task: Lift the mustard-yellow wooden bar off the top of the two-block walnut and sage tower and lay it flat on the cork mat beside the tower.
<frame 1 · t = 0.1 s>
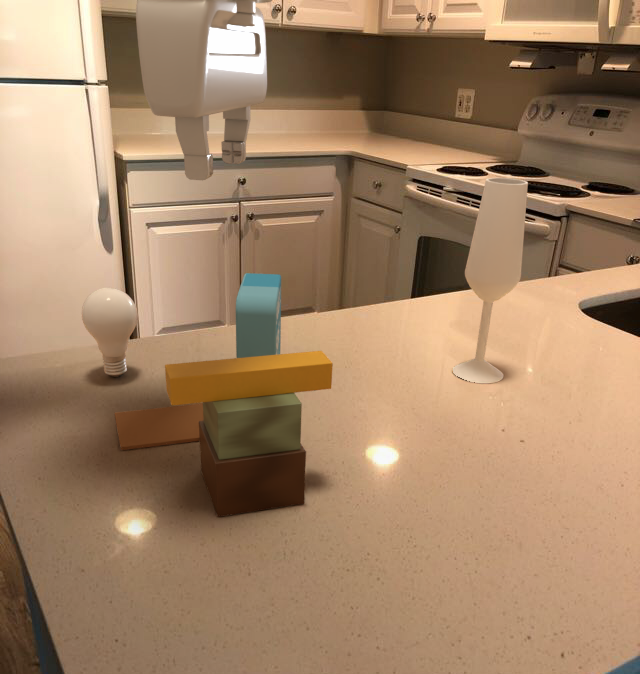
hand: (218, 170, 58), 27 cm above the counter, tool pointing down, fingers open, 8 cm apart
data package: (259, 379, 89), on the counter
cork mat: (184, 424, 77), on the counter
champagne flute: (477, 374, 93), on the counter
bar: (250, 390, 62), point 10 cm above the counter, touching tower
lightbulb: (116, 377, 88), on the counter
tower: (251, 487, 66), on the counter
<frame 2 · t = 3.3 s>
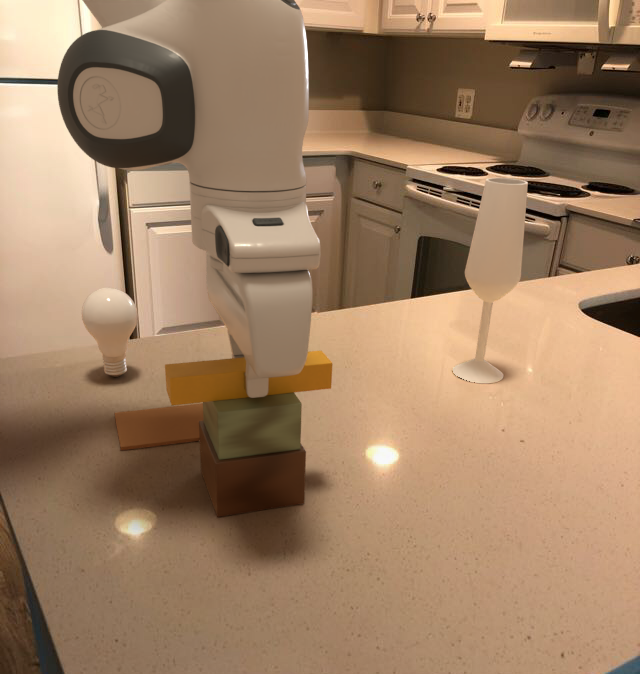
hand: (249, 383, 61), 11 cm above the counter, tool pointing down, fingers closed on bar, 3 cm apart
bar: (250, 389, 62), point 10 cm above the counter, touching gripper, tower
everything else where it was.
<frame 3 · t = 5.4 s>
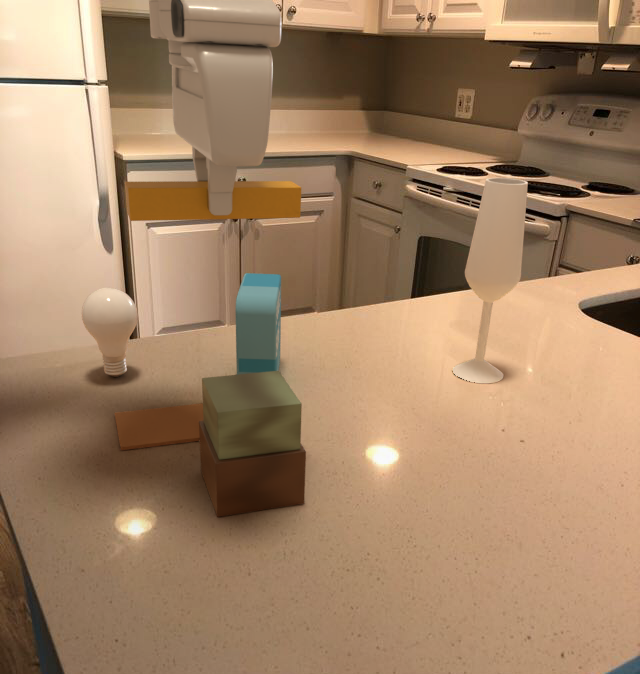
hand: (214, 208, 59), 24 cm above the counter, tool pointing down, fingers closed on bar, 3 cm apart
bar: (215, 215, 59), point 24 cm above the counter, touching gripper
everything else where it was.
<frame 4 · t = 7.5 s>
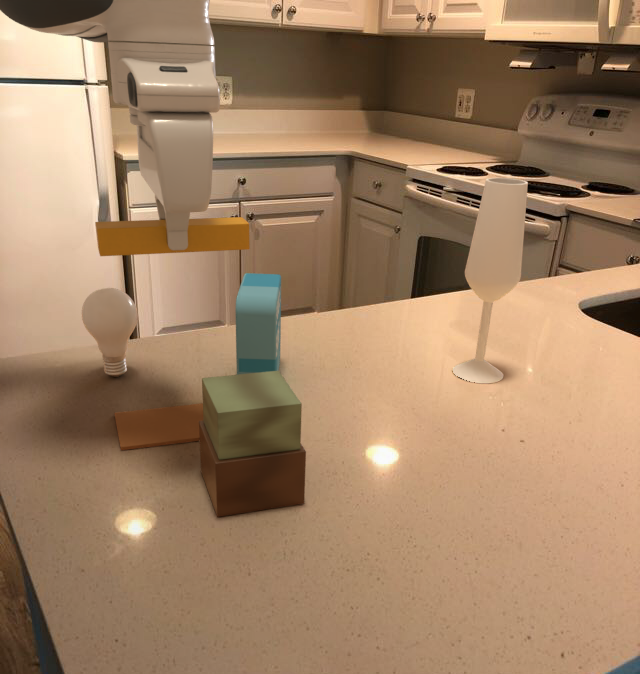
hand: (174, 243, 68), 20 cm above the counter, tool pointing down, fingers closed on bar, 3 cm apart
bar: (174, 249, 68), point 19 cm above the counter, touching gripper
everything else where it was.
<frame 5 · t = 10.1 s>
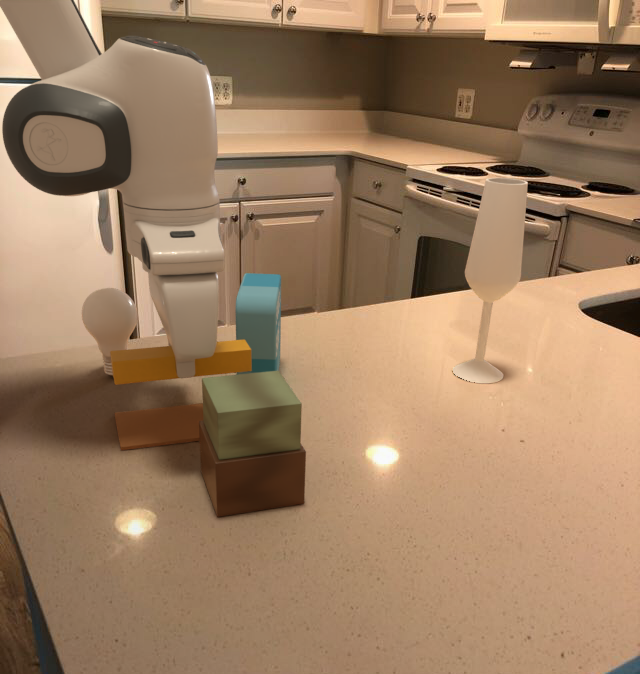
hand: (182, 367, 74), 7 cm above the counter, tool pointing down, fingers closed on bar, 3 cm apart
bar: (182, 372, 74), point 6 cm above the counter, touching gripper
everything else where it was.
when the fingers open (1 cm above the counter, at t = 11.8 s): bar stays where it is, resting on cork mat.
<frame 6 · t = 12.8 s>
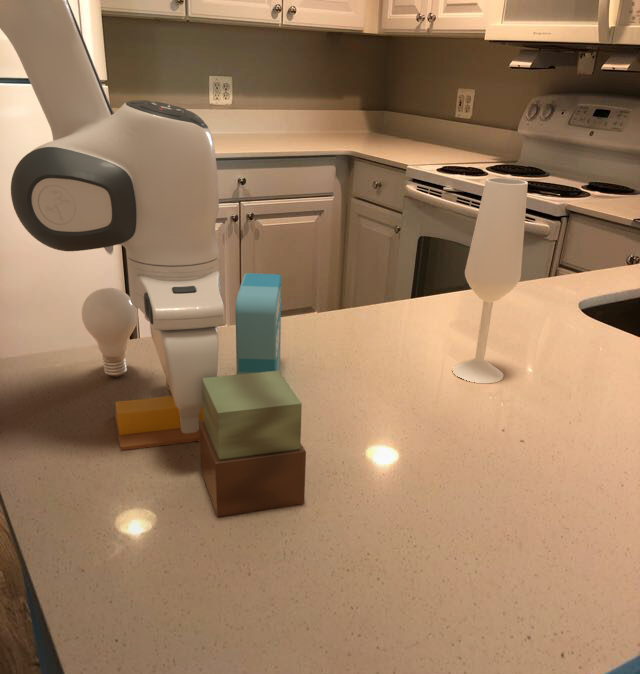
hand: (181, 409, 76), 2 cm above the counter, tool pointing down, fingers open, 8 cm apart
bar: (185, 421, 77), resting on cork mat
everything else where it was.
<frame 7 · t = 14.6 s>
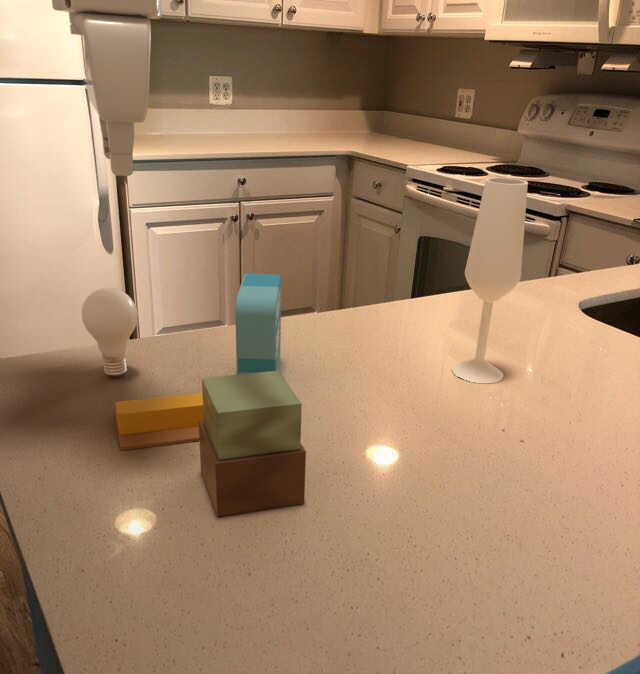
hand: (117, 166, 66), 26 cm above the counter, tool pointing down, fingers open, 8 cm apart
nothing on the counter moved.
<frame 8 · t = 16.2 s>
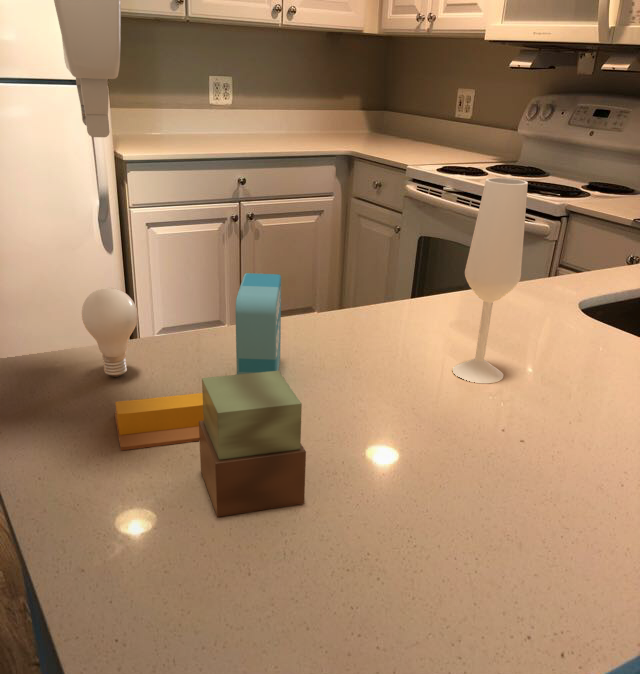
hand: (95, 130, 65), 29 cm above the counter, tool pointing down, fingers open, 8 cm apart
nothing on the counter moved.
at the end: bar inside the target area on the cork mat (0.1 cm from its centre), point 0.4 cm above the cork mat's base; bar tilted 0°; bar touching cork mat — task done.
